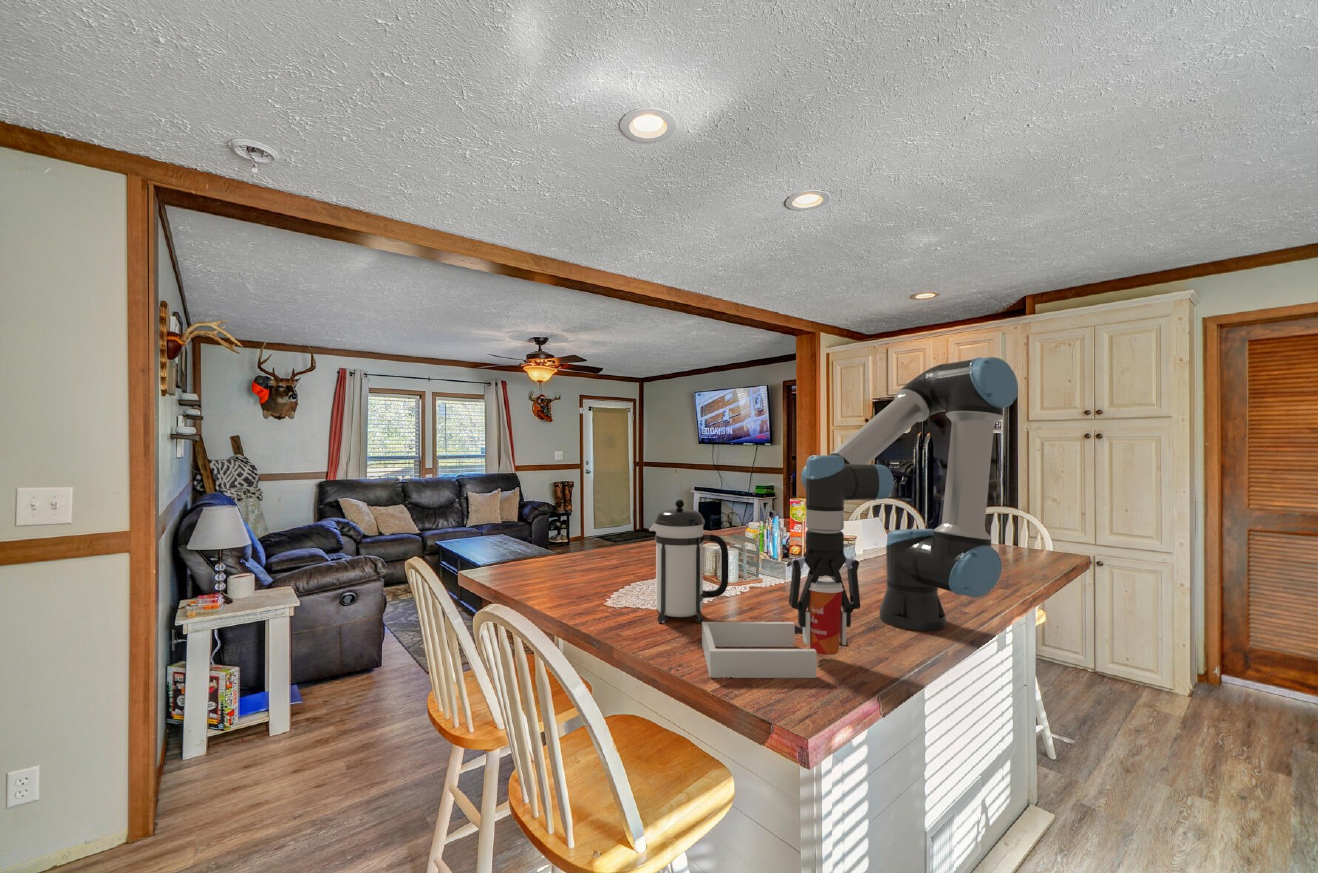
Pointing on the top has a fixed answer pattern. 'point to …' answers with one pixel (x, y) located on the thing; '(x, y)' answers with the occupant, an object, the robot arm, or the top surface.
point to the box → (755, 651)
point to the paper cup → (825, 615)
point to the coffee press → (683, 563)
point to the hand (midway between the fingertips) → (824, 642)
